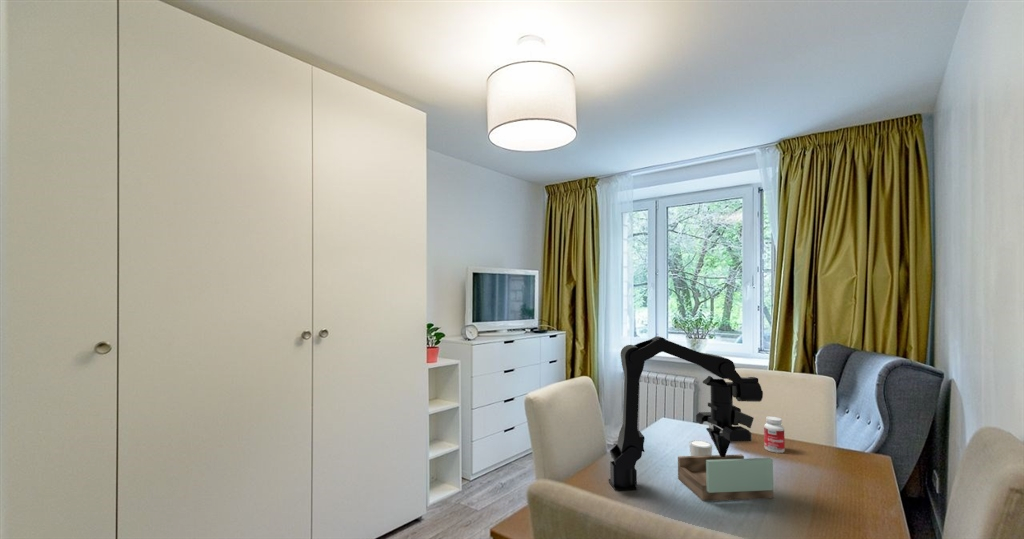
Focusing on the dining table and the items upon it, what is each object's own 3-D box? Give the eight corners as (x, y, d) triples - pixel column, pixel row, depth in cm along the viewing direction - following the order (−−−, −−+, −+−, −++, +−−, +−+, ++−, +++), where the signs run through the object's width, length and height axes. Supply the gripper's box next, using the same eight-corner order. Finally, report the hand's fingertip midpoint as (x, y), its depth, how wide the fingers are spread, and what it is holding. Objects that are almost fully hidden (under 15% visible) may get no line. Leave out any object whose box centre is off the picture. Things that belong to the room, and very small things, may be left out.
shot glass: (715, 470, 138) (714, 447, 138) (691, 469, 139) (691, 446, 139) (709, 462, 144) (709, 440, 145) (687, 460, 146) (687, 439, 146)
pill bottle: (766, 452, 154) (765, 419, 154) (762, 446, 160) (762, 415, 160) (786, 454, 152) (785, 421, 152) (782, 448, 157) (781, 416, 158)
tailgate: (709, 492, 116) (708, 461, 117) (706, 490, 118) (706, 459, 118) (773, 490, 118) (772, 459, 118) (770, 488, 119) (769, 457, 120)
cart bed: (702, 501, 118) (702, 476, 118) (678, 478, 132) (677, 456, 132) (773, 498, 120) (772, 473, 120) (741, 476, 133) (741, 454, 134)
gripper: (770, 409, 118) (771, 468, 117) (729, 393, 137) (730, 444, 136) (730, 409, 117) (731, 470, 116) (694, 393, 136) (695, 445, 135)
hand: (722, 456), depth 126 cm, fingers closed
